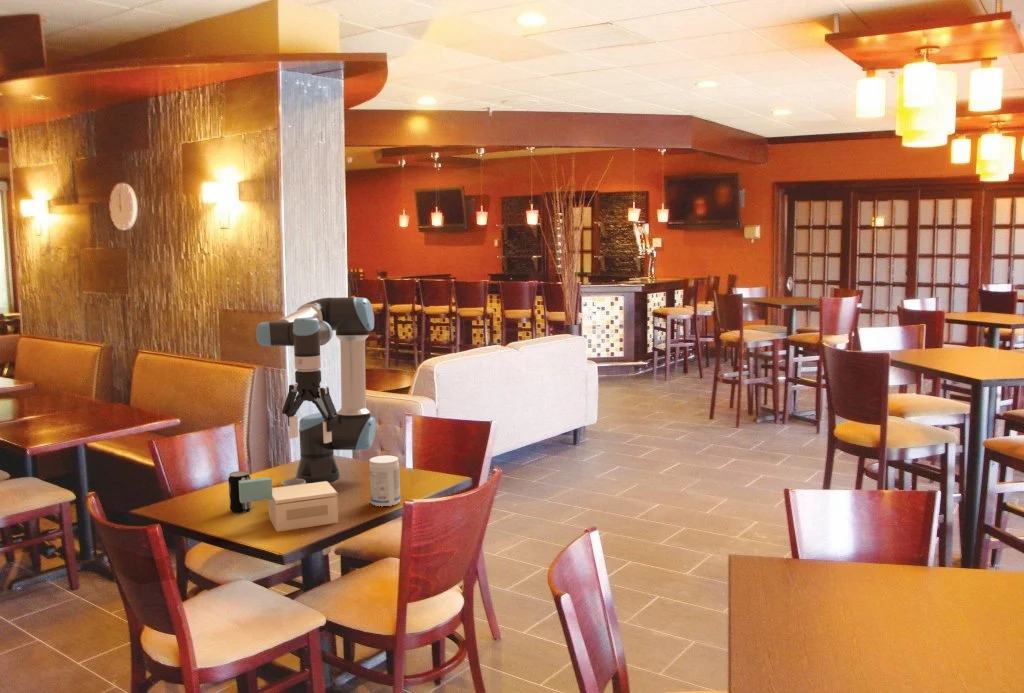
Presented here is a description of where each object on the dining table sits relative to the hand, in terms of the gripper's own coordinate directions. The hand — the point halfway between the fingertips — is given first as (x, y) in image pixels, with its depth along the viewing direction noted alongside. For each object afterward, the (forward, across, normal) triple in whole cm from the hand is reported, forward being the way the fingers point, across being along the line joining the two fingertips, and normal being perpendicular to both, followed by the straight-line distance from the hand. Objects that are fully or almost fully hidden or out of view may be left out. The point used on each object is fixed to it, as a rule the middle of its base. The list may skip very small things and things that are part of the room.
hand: (310, 440), depth 252 cm
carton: (+25, -3, -1) cm, 25 cm away
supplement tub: (+25, +8, +24) cm, 36 cm away
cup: (+25, -15, +6) cm, 30 cm away
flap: (+17, -6, -5) cm, 18 cm away
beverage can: (+25, -28, -3) cm, 38 cm away
